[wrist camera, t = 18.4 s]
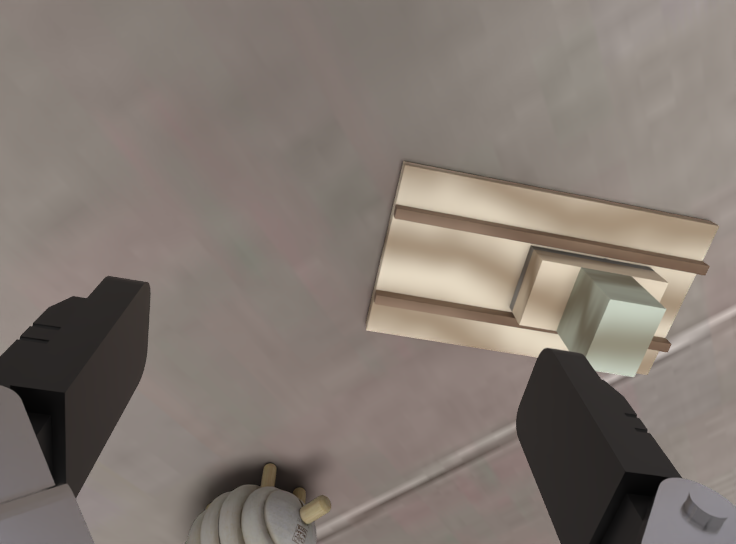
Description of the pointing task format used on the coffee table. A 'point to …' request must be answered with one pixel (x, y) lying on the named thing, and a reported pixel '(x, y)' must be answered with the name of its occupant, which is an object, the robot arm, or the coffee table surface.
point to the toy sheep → (259, 515)
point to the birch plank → (512, 256)
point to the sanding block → (592, 305)
